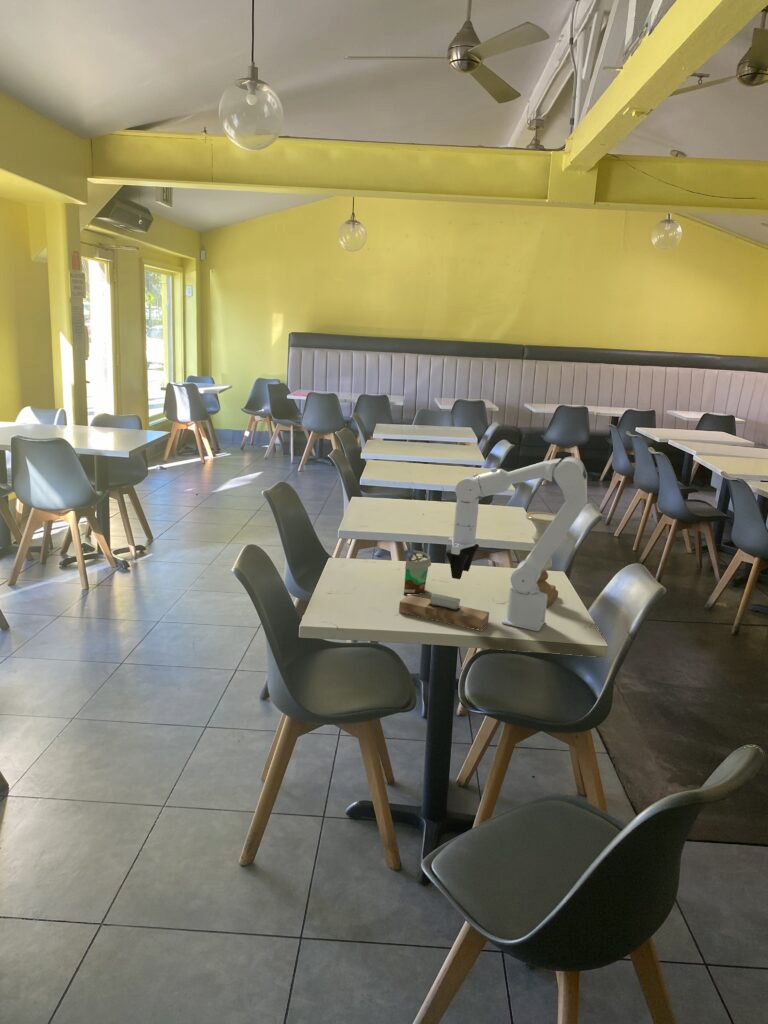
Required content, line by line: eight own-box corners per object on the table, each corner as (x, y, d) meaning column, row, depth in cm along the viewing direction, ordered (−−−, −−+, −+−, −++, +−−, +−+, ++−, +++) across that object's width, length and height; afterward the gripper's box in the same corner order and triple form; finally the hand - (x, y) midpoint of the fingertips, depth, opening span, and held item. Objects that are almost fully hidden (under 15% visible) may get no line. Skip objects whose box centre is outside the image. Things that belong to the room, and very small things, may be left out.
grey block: (458, 619, 184) (460, 598, 183) (454, 622, 182) (456, 601, 181) (432, 613, 187) (434, 593, 186) (428, 616, 185) (430, 596, 184)
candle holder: (509, 598, 202) (519, 516, 197) (521, 588, 212) (531, 509, 206) (548, 607, 198) (559, 523, 192) (558, 596, 207) (569, 515, 202)
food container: (425, 599, 197) (428, 564, 195) (402, 596, 198) (405, 561, 196) (431, 585, 209) (434, 552, 207) (410, 582, 210) (413, 549, 208)
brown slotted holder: (488, 623, 183) (489, 612, 183) (481, 631, 178) (482, 619, 177) (407, 605, 192) (408, 594, 191) (398, 612, 186) (399, 601, 185)
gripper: (458, 516, 193) (453, 564, 197) (441, 527, 180) (437, 579, 183) (484, 520, 191) (479, 569, 194) (469, 531, 178) (463, 584, 181)
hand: (460, 574), depth 189 cm, fingers open, 7 cm apart
